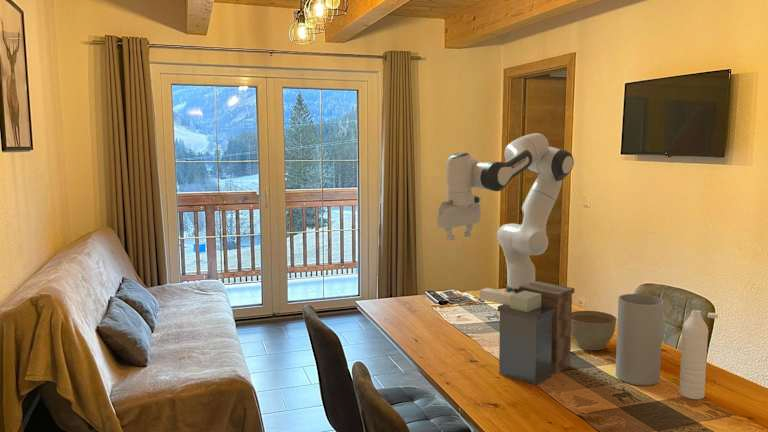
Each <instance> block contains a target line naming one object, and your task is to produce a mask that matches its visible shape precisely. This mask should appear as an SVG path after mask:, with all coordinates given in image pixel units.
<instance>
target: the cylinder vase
mask: <svg viewBox="0 0 768 432" xmlns="http://www.w3.org/2000/svg"><path fill="white" fill-rule="evenodd" d="M617 303H618V304H617V305H618V306H617V326H616V327H617V328H616V353H615V354H616V355H615V357H616V358H615V375H616V377H617V378H618V379H619V380H621V381H622V382H625V383H628V384H630V385H635V386H653V385H656V384H658V383H659V382H660V379H661V364H662V363H661V361H662V347H663V346H662V343H663V324H664V323H663V321H664V300H663V298H661V297H658V296H654V295H649V294H643V293H625V294H620V295H618V300H617Z"/></svg>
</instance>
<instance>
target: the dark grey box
mask: <svg viewBox="0 0 768 432" xmlns="http://www.w3.org/2000/svg"><path fill="white" fill-rule="evenodd" d="M497 312H499V348H498V349H499V352H498V353H499V354H498V355H499V357H498V358H499V361H498V365H499V367H498V368H499V369H498V374H500V375H502V376H506V377H508V378H512V379H515V380H517V381H520V382H523V383H527V384H530V385H532V386H537V385H539V384H541V383H542V382H545V381H546V380H547V379H549V378H551V377H552V373H551V349H552V314H554V313H555V308H550V307H546V306H541V307H539V308H536V309H534V310H531V311H529V312H524V311H520V310H515V309H511V308H510V306H508V305H504V304H500V305H498V306H497Z"/></svg>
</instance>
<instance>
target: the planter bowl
mask: <svg viewBox="0 0 768 432" xmlns="http://www.w3.org/2000/svg"><path fill="white" fill-rule="evenodd" d="M617 321H618V318H617V317H616V316H614V315H612V314H610V313H607V312H604V311H596V310H576V311H572V313H571V336H572V338H573V339H574V340H575V341H576V344H577V345H576V346H578V347H579V348H581V349H583V350H587V351H588V350H589V351H601V350H604V349H606V347H607V344H609V341H611V339H612V338H613V336H614V333H615V330H616V323H617Z"/></svg>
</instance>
